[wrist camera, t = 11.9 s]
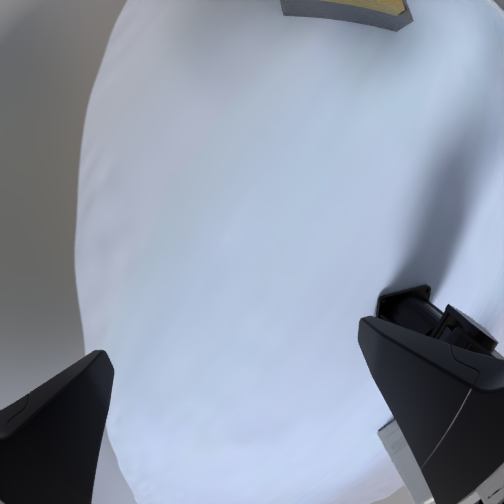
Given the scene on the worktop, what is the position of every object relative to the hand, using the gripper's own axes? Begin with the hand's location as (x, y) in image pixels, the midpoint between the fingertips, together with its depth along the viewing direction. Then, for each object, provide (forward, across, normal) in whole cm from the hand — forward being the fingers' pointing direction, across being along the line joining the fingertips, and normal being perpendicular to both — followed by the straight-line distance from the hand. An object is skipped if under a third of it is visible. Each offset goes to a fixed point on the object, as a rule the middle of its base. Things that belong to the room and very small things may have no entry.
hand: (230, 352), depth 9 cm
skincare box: (+13, -22, +33) cm, 42 cm away
